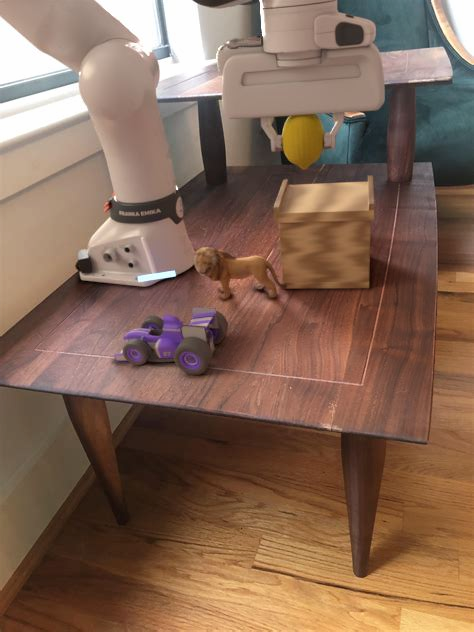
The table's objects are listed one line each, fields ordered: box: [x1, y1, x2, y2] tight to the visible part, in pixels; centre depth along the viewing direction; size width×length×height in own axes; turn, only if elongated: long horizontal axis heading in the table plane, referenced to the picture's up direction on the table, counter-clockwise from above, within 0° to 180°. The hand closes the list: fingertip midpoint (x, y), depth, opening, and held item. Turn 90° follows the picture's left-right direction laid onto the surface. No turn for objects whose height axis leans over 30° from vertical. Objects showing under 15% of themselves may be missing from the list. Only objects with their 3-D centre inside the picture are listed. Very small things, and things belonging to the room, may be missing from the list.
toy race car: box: [113, 306, 229, 376], centre depth 78 cm, size 10×15×6 cm, turn 73°
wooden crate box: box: [273, 175, 375, 290], centre depth 91 cm, size 15×13×15 cm
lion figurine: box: [194, 246, 288, 300], centre depth 89 cm, size 15×5×9 cm, turn 90°
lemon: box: [281, 114, 325, 171], centre depth 71 cm, size 6×6×8 cm
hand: (303, 149), depth 72 cm, fingers closed on lemon, 5 cm apart
